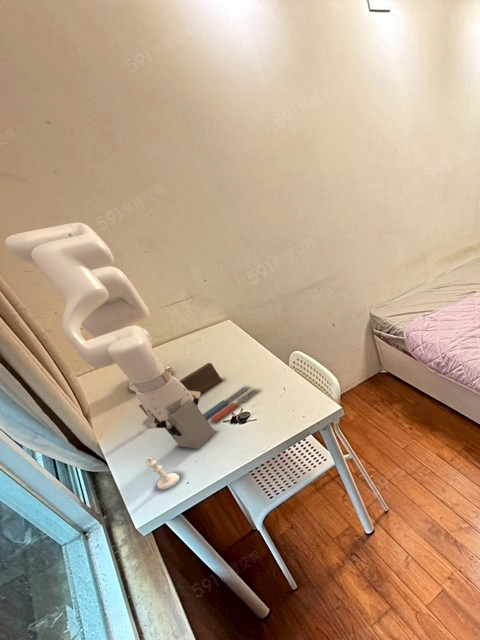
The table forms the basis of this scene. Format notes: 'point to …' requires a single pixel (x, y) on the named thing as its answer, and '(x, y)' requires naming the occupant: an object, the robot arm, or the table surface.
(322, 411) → the table surface
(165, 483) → the chess piece
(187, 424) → the perfume bottle
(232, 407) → the fork
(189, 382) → the shelf
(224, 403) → the knife
